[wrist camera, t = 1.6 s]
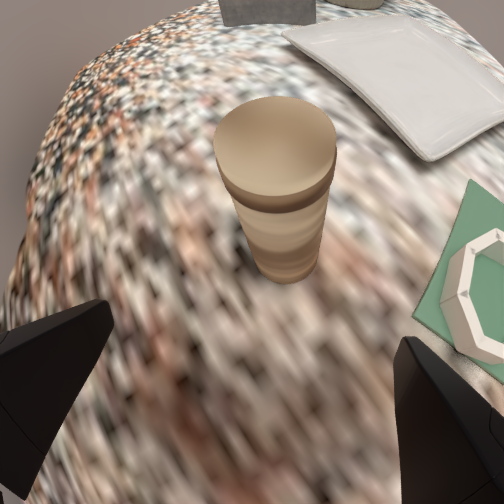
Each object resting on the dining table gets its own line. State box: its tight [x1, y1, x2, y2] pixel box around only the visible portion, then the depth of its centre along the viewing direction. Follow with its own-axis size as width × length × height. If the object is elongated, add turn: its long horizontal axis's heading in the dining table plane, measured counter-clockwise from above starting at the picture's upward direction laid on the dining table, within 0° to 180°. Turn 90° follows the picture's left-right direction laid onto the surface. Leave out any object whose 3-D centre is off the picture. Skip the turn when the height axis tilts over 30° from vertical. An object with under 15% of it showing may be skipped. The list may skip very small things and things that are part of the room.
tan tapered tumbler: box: [213, 96, 337, 284], centre depth 17 cm, size 5×5×13 cm
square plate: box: [281, 15, 504, 162], centre depth 29 cm, size 27×27×4 cm
